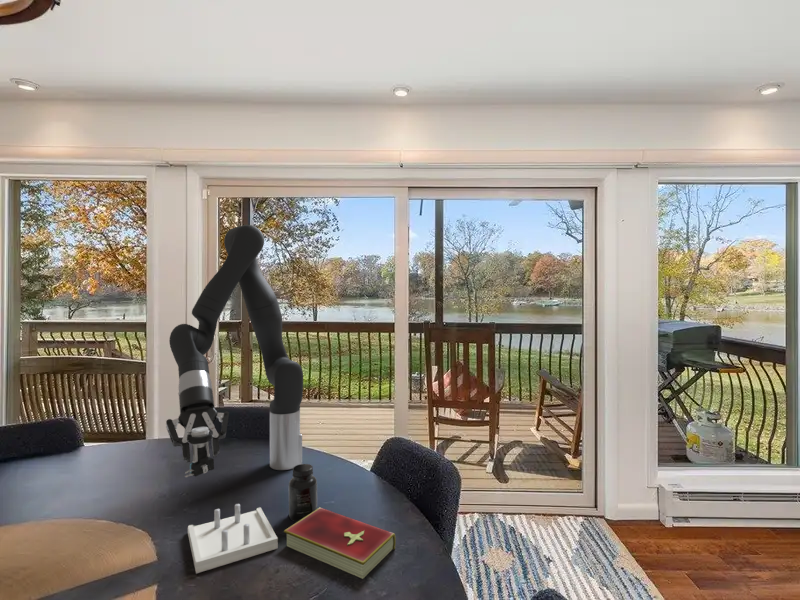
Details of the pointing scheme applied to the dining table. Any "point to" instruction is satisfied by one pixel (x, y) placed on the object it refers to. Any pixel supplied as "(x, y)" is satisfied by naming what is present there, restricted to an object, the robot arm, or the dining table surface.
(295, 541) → the hardcover book
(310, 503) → the supplement bottle
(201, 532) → the tray
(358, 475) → the dining table surface
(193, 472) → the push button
